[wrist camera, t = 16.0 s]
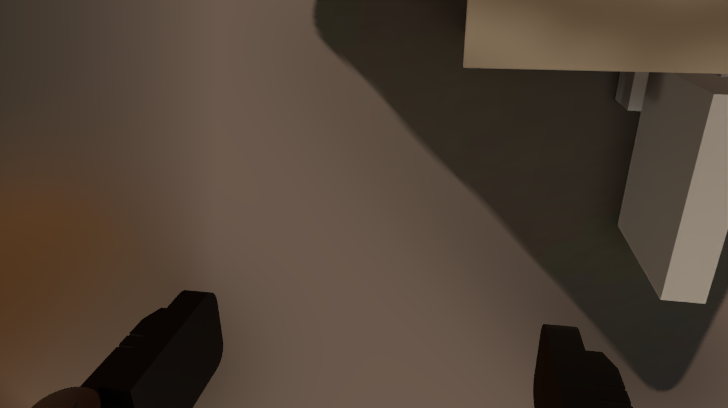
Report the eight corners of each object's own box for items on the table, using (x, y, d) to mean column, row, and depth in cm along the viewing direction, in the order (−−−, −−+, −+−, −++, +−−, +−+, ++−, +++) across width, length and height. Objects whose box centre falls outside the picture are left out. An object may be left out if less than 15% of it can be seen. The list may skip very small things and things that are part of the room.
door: (651, 61, 35) (713, 94, 26) (710, 63, 35) (795, 96, 26) (617, 225, 40) (660, 299, 31) (669, 228, 40) (728, 305, 31)
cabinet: (471, -65, 34) (473, -85, 21) (755, -70, 31) (947, -95, 19) (460, 94, 38) (457, 157, 26) (710, 102, 36) (844, 176, 23)
